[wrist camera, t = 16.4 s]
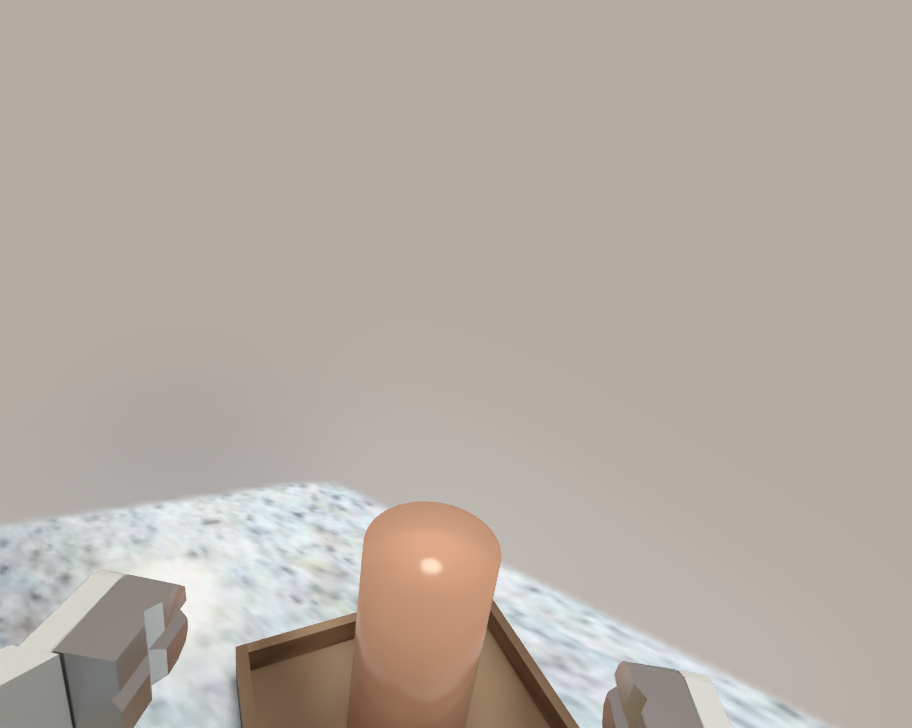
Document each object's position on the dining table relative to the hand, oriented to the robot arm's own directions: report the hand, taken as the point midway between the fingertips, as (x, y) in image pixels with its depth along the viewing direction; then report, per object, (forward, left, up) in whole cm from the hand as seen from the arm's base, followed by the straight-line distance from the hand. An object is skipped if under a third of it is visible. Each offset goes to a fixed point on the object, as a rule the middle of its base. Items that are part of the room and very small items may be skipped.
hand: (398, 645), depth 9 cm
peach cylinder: (+6, +10, -20) cm, 23 cm away
